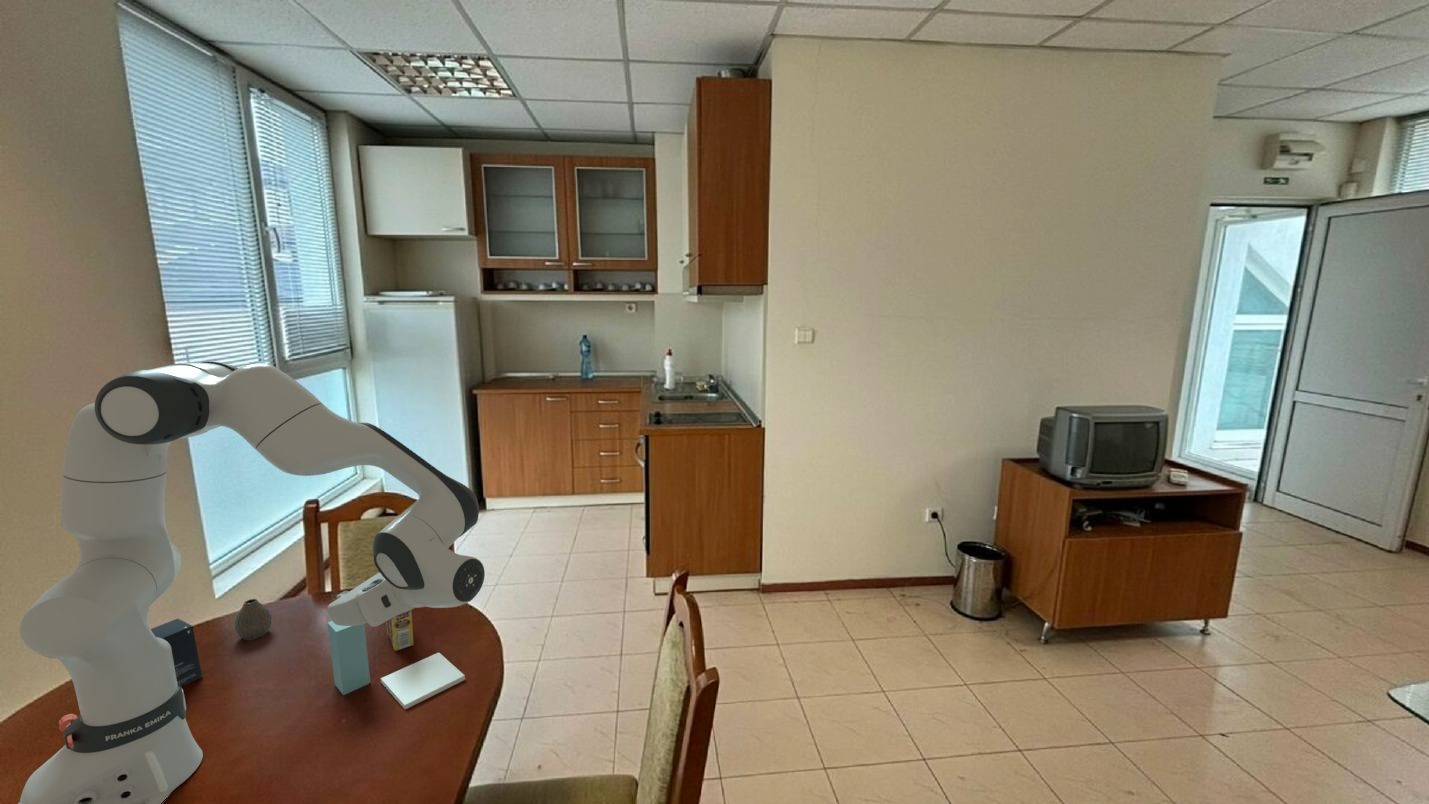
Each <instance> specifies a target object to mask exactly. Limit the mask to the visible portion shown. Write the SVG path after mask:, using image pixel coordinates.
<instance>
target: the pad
mask: <svg viewBox="0 0 1429 804" xmlns="http://www.w3.org/2000/svg"><path fill="white" fill-rule="evenodd" d="M465 680H466V677H465V674H464V673H463V672H462V671H460V670H459V668H457V667H456V666H455V665H453V663H451V661H449V660H448V659H447V658H446V657H445V656H444V655H443V654H442V653H440V652H437V653H434V654H432V655H430V656H428V657H425V658H423V659H421V660H419V661H416V662H415V663H414V662H413V663H412V664H409V665H407V666H405V667H402V668H401V669H399V670H397V671H393V672H392V673H390V674H388V675H385V676H383V677H380V683H381V685H382V686H383V687H384V688H385V687H386V688H385V689H386V691H388V692H389V694H390V695H392V697H393V698H394V699H395V701H396V702H398V704H400V706H401V707H402V708H403V710H407V709H409V708H411V707H413V706H415V705H417V704H419V703H421V702H423V701H425V700H427V699H429V698H431V697H434V696H436V695H437V694H440V693H441V692H443V691H446V690H448V689H449V688H451V687H454V686H455V685H457V684H460V683H461V682H463V681H465Z"/></svg>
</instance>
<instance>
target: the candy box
mask: <svg viewBox="0 0 1429 804" xmlns="http://www.w3.org/2000/svg"><path fill="white" fill-rule="evenodd" d="M412 610H413V609H412ZM412 610H409V611H407V612H404V613H401V614H399V615H397V616H395V617H393V618H391V619H390V620H388V621H386V622H385V623H386V634H387V636H388V639H389V640H390V641H389V642H390V644H391V645H392V648H393V650H394V651H395V652H397V651H400V650H404V649H406V648H409V647H413V646H414V629H413V613H412Z"/></svg>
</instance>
